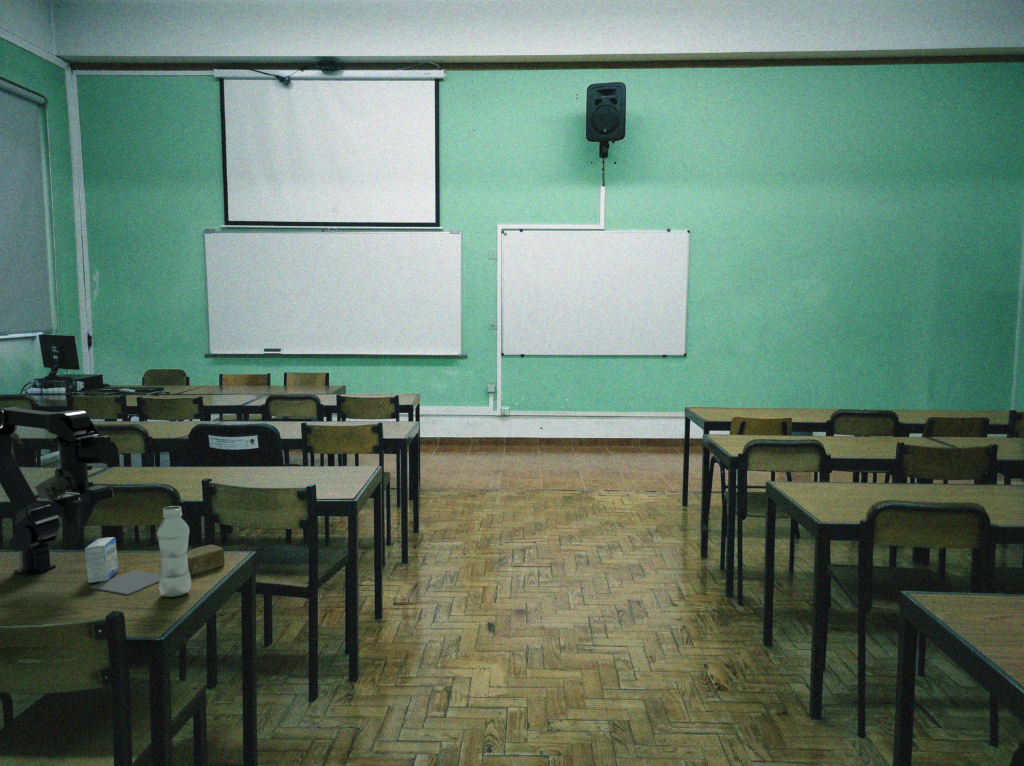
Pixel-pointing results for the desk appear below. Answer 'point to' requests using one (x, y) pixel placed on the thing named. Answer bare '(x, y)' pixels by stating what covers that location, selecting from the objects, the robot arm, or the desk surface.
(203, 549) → the stone block
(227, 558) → the desk surface
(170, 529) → the plastic bottle
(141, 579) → the mat
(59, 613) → the desk surface
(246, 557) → the desk surface
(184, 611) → the desk surface
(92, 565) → the medicine box
